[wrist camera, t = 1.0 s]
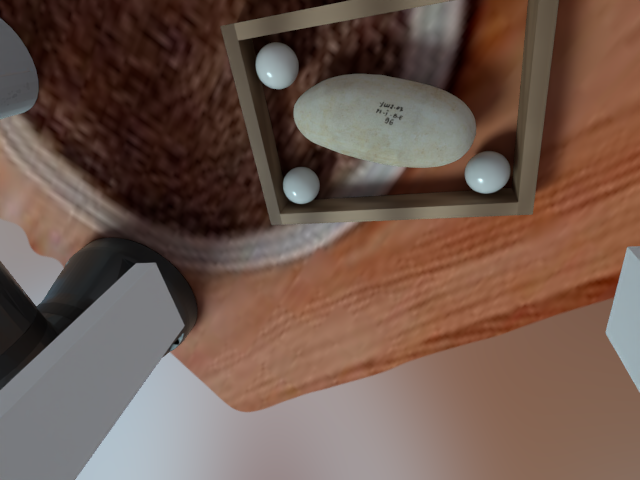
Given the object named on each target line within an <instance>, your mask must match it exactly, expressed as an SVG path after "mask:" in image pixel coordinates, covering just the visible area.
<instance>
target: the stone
mask: <svg viewBox="0 0 640 480" xmlns="http://www.w3.org/2000/svg"><path fill="white" fill-rule="evenodd" d="M294 120H295V123H296V125H297V127H298V129H299V130H300V131H301V133H302V134H303V135H304V136H305V137H306V138H307V139H309V140H310V141H312V142H314V143H316V144H318V145H320V146H323V147H326V148H328V149H331V150H333V151H336V152H338V153H341V154H345V155H348V156H352V157H355V158H359V159H363V160H366V161H371V162H375V163H379V164H385V165H392V166H399V167H416V168H427V167H437V166H443V165H446V164H449V163H452V162H454V161H456V160H458V159H460V158H461V157H462V156H463V155H464V154H465V153H466V152H467V151H468V150H469V149H470V147H471V145H472V143H473V141H474V138H475V135H476V122H475V118H474V116H473V114H472V112H471V110H470V109H469V108H468V106H467V105H466V104H465V103H464V102H463V101H461V100H460V99H459V98H457V97H456V96H454V95H452V94H450V93H449V92H447V91H444V90H442V89H440V88H437V87H434V86H430V85H427V84H423V83H419V82H415V81H410V80H405V79H400V78H395V77H390V76H385V75H373V74H348V75H341V76H336V77H333V78H329V79H327V80H324V81H322V82H320V83H318V84H317V85H315V86H313V87H312V88H310V89H308V90H307V91H306V92H305V93H303V94H302V95H301V96H300V98H299V99H298V100H297V102H296V104H295V106H294Z"/></svg>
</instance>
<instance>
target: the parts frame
mask: <svg viewBox="0 0 640 480" xmlns="http://www.w3.org/2000/svg"><path fill="white" fill-rule="evenodd" d="M448 1H453V0H349V1H344V2H339V3H334V4H329V5H324V6H319V7H314V8H309V9H304V10H299V11H294V12H289V13H284V14H279V15H274V16H269V17H264V18H259V19H254V20H249V21H244V22H239V23H234V24H229V25H224V26H220V27H221V31H222V35H223V39H224V43H225V47H226V50H227V54H228V58H229V62H230V66H231V70H232V74H233V78H234V82H235V85H236V89H237V93H238V97H239V101H240V105H241V109H242V113H243V117H244V120H245V124H246V128H247V132H248V136H249V140H250V144H251V148H252V151H253V155H254V159H255V163H256V167H257V171H258V175H259V179H260V183H261V186H262V190H263V194H264V198H265V202H266V206H267V210H268V214H269V217H270V221H271V225H287V224H311V223H335V222H360V221H384V220H408V219H432V218H457V217H481V216H505V215H529V214H533V207H534V199H535V191H536V183H537V174H538V166H539V158H540V150H541V142H542V134H543V126H544V117H545V109H546V101H547V93H548V85H549V77H550V69H551V60H552V52H553V44H554V36H555V28H556V20H557V12H558V3H559V0H528V8H527V19H526V30H525V41H524V53H523V64H522V75H521V86H520V98H519V109H518V120H517V131H516V143H515V154H514V165H513V176H512V188H504V189H500V190H498V191H496V192H493V193H488V194H484V193H479V192H476V191H474V190H470V191H453V192H436V193H419V194H402V195H385V196H368V197H351V198H334V199H317V200H312V201H311V202H309V203H305V204H297V203H294V202H292V201H288V198H287V196H286V195H285V193H284V190H283V181H284V179H283V174H282V170H281V165H280V161H279V157H278V152H277V148H276V143H275V139H274V134H273V130H272V125H271V121H270V117H269V112H268V108H267V103H266V99H265V94H264V90H263V85H262V81H261V80H260V78H259V77H258V75H257V72H256V54H255V50H254V45H253V41H252V38H255V37H260V36H265V35H271V34H276V33H281V32H287V31H292V30H298V29H303V28H308V27H314V26H319V25H324V24H330V23H335V22H340V21H346V20H351V19H356V18H362V17H367V16H373V15H378V14H383V13H389V12H394V11H399V10H405V9H410V8H415V7H421V6H426V5H431V4H437V3H442V2H448Z"/></svg>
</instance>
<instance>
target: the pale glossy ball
mask: <svg viewBox="0 0 640 480" xmlns="http://www.w3.org/2000/svg"><path fill="white" fill-rule="evenodd" d="M319 189H320V182H319V179H318V177H317V175H316V174H315V172H313V171H312V170H311V169H309V168H306V167H296V168H293V169H292V170H290V171H289V172H288V173H287V174H286V176H285V178H284V181H283V190H284V193H285V195H286V196H287V198H288V199H289V200H291V201H292V202H294V203H297V204H305V203H309V202H311V201H312V200H313V199H314V198H315V197H316V196H317V194H318V192H319Z"/></svg>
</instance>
